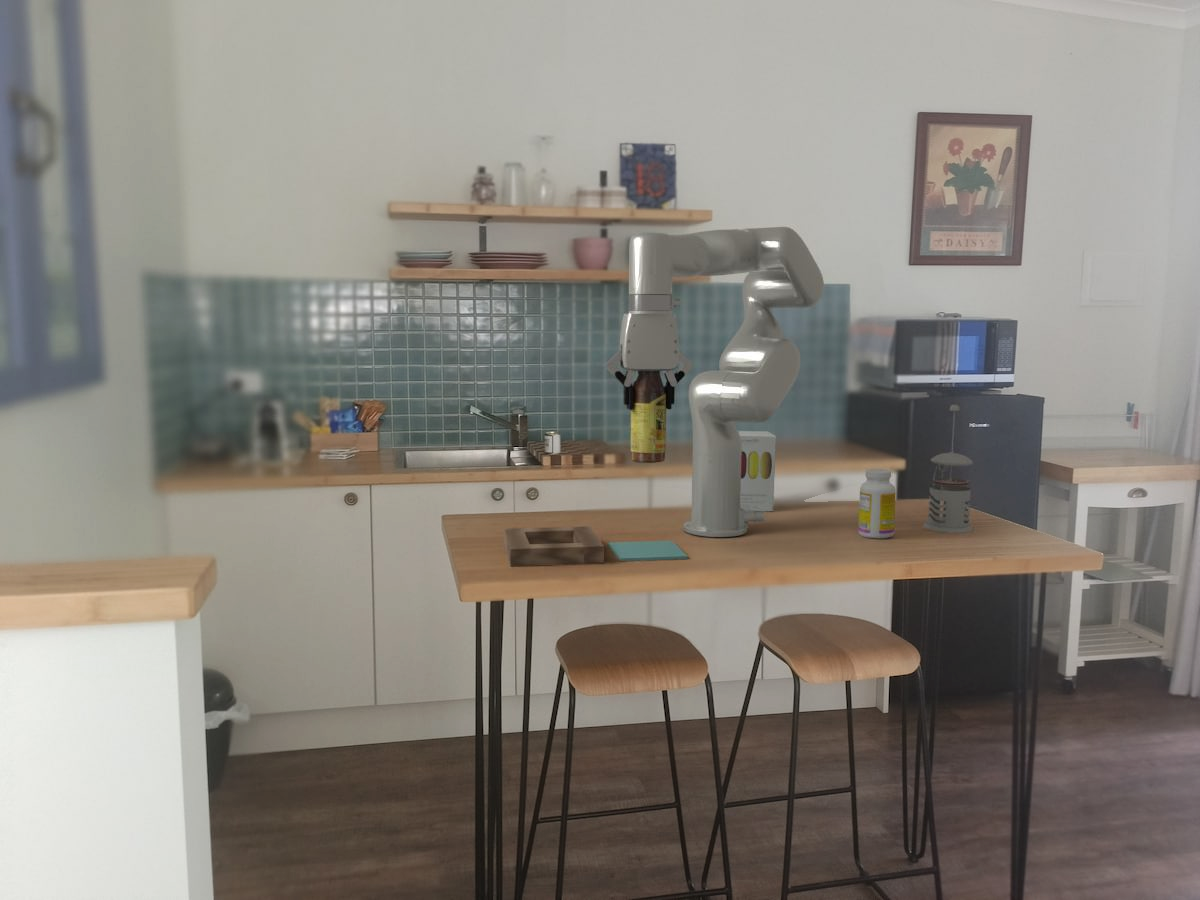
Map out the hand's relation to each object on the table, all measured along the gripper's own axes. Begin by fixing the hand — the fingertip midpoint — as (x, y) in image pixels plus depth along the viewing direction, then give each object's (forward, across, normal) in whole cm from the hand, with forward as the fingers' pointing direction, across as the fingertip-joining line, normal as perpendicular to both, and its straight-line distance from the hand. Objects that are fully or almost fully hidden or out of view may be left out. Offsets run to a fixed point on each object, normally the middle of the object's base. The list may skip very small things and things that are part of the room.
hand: (648, 407), depth 173 cm
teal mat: (+26, 0, 0) cm, 26 cm away
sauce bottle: (+10, 0, 0) cm, 10 cm away
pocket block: (+26, +17, -1) cm, 31 cm away
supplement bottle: (+26, -47, -7) cm, 54 cm away
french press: (+26, -65, -13) cm, 71 cm away
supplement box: (+26, -31, -37) cm, 55 cm away
